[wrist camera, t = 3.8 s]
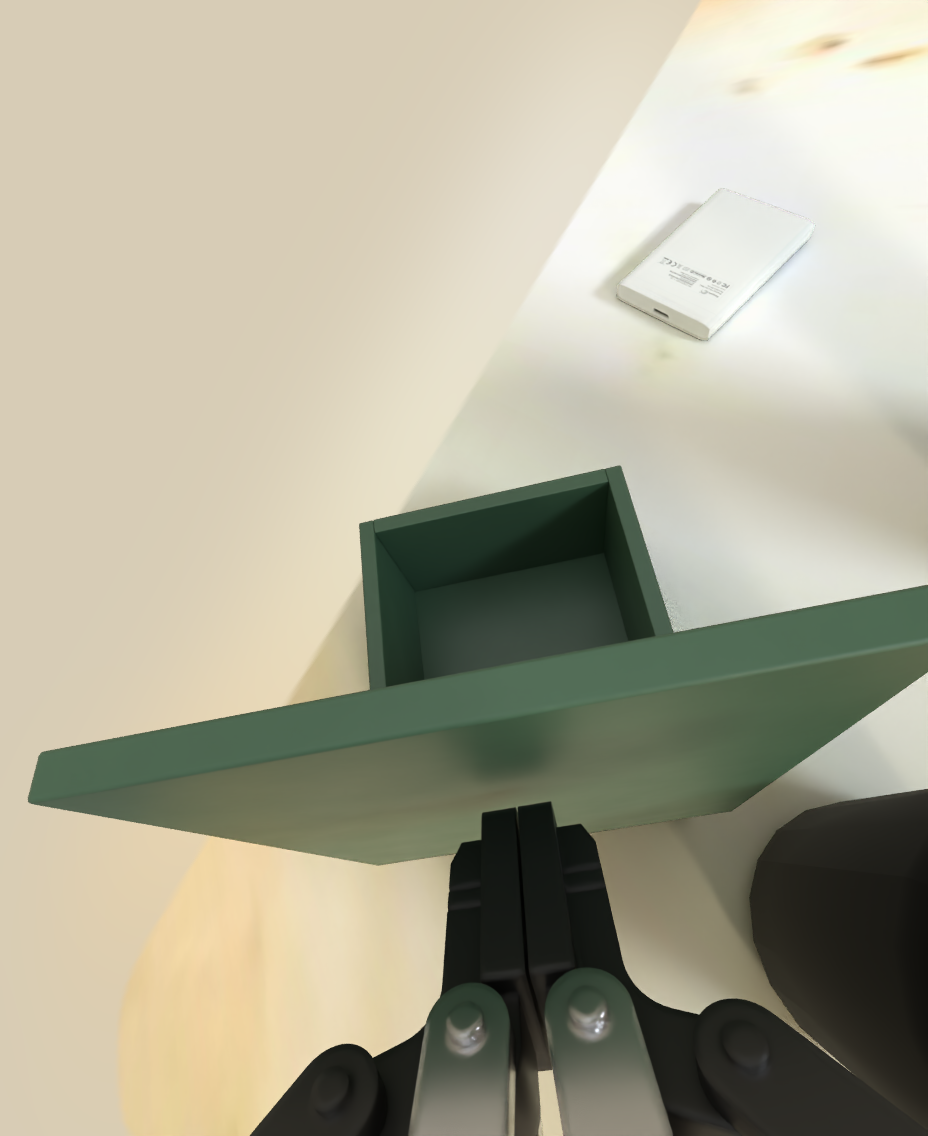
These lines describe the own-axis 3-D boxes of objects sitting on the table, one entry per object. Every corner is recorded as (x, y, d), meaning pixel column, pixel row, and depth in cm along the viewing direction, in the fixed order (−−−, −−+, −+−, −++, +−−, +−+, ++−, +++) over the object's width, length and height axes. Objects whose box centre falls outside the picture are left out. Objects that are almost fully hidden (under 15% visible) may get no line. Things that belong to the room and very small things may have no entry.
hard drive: (809, 241, 44) (706, 343, 42) (715, 206, 47) (615, 298, 45) (817, 221, 42) (711, 326, 40) (719, 185, 46) (616, 280, 44)
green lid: (37, 750, 9) (23, 804, 9) (953, 577, 8) (990, 631, 7) (375, 843, 23) (376, 865, 23) (725, 788, 22) (733, 811, 21)
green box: (405, 588, 38) (358, 522, 30) (613, 545, 37) (620, 464, 29) (431, 850, 31) (379, 854, 23) (689, 810, 30) (726, 800, 22)
